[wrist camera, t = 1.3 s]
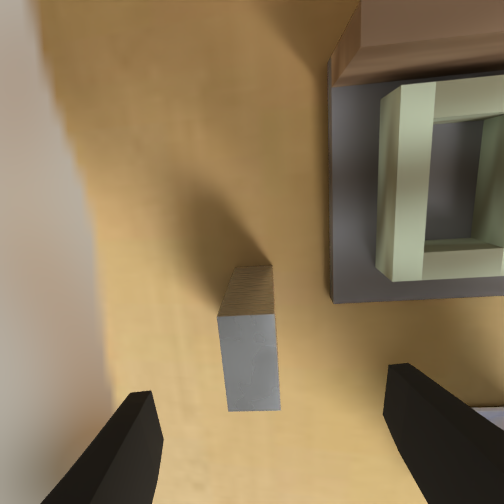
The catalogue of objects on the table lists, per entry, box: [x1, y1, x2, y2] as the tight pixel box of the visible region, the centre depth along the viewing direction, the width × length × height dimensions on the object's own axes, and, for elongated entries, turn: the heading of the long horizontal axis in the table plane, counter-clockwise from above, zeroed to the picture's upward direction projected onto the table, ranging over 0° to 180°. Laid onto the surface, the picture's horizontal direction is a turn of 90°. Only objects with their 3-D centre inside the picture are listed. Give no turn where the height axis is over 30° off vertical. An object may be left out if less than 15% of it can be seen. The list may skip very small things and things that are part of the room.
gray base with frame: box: [328, 0, 504, 304], centre depth 14 cm, size 14×12×6 cm
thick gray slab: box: [217, 265, 281, 412], centre depth 16 cm, size 5×2×7 cm, turn 4°
